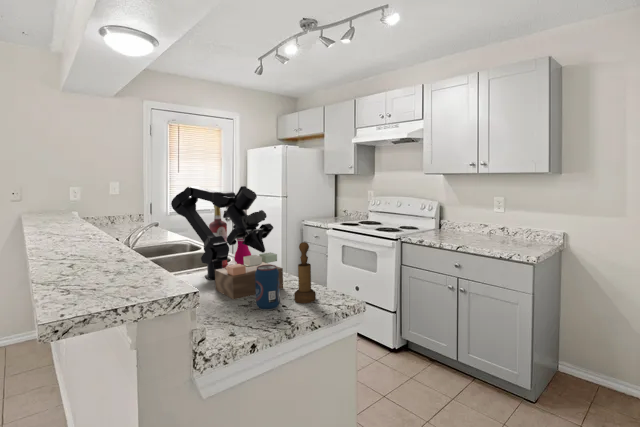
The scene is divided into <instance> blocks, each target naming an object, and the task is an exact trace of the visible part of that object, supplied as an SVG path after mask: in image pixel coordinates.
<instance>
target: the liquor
mask: <svg viewBox="0 0 640 427" xmlns="http://www.w3.org/2000/svg"><path fill="white" fill-rule="evenodd" d="M213 209H214V216H213V217H214V218H213V221H212V222H210V223H209V224H208V227H209V229H210V230H211V231H212V233H213V234H214V235H215V236H222V237H223V238H224V240H225V241H226V242H227V237H228V224H227V222H226V221H224V220H222V214H221V208H219V207H217V206H215V205H213ZM222 263H223V268H226V267H227V266H229V263H228V259H227V260H224V261H222Z"/></svg>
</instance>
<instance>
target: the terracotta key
mask: <svg viewBox="0 0 640 427" xmlns="http://www.w3.org/2000/svg"><path fill="white" fill-rule="evenodd" d="M226 267H227V273H228V274H230V275H233V276H235V275H240V274H245V273H246V266H244V265H241V264H237V263H235V264H230V265H227V266H226Z"/></svg>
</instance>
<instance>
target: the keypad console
mask: <svg viewBox="0 0 640 427" xmlns="http://www.w3.org/2000/svg"><path fill="white" fill-rule="evenodd" d="M243 265H244V266H246V273H245V274H240V275H235V276H233V275H230V274H228V273H227V266H226V267H225V268H222V269H216V270H215V279H214V282H215V285H214V286H215V291H217V292H219V293H221V294H223V295H224V296H226V297H228V298H230V299H231V300H239V299H244V298H248V297H252V296H256V288H255V272H256V270H257V267H258V266H261V265H272V263H264V262H262V264H258V265H253V266H249V265H246V264H243ZM277 269H278V271H279V290H281V288H282V289H284V268H283V267H281V266H277Z"/></svg>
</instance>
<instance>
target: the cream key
mask: <svg viewBox="0 0 640 427" xmlns="http://www.w3.org/2000/svg"><path fill="white" fill-rule="evenodd" d="M244 264H246V265H249V266H253V265H258V264H262V257H261V256H259V255H257V254H251V256H245V257H244Z"/></svg>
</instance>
